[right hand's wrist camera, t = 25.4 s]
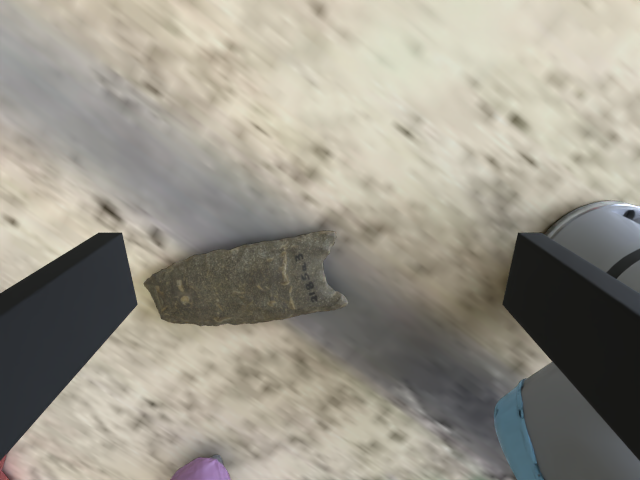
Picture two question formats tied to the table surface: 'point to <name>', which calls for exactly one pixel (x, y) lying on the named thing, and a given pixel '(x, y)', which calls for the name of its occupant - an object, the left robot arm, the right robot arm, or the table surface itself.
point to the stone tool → (248, 283)
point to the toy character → (203, 470)
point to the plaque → (0, 477)
